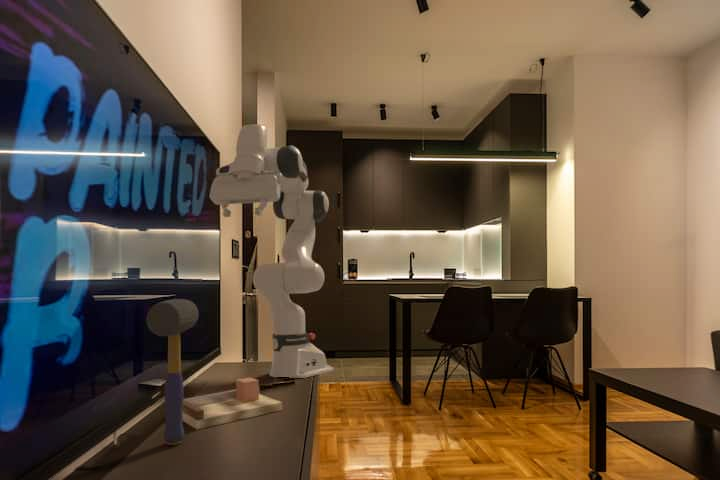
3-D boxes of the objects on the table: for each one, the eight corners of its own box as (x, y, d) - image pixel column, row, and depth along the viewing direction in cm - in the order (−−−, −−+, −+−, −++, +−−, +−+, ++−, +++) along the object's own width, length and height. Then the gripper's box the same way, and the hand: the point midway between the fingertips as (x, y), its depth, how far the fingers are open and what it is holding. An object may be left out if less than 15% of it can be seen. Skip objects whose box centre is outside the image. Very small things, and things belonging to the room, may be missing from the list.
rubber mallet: (180, 454, 94) (180, 300, 97) (142, 455, 94) (143, 301, 97) (202, 433, 107) (201, 297, 109) (168, 434, 107) (168, 298, 109)
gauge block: (250, 396, 131) (250, 377, 131) (258, 399, 127) (258, 380, 127) (236, 398, 128) (236, 379, 129) (244, 402, 125) (244, 382, 125)
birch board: (256, 400, 134) (256, 385, 135) (282, 410, 123) (281, 394, 124) (176, 416, 120) (176, 400, 121) (197, 429, 110) (196, 411, 110)
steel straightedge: (256, 392, 134) (256, 385, 135) (259, 393, 133) (259, 386, 133) (176, 408, 121) (176, 400, 121) (178, 409, 119) (178, 401, 120)
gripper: (285, 176, 142) (281, 218, 137) (220, 180, 145) (213, 221, 140) (278, 164, 136) (273, 208, 131) (211, 169, 140) (203, 212, 134)
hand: (242, 215), depth 135 cm, fingers open, 8 cm apart
